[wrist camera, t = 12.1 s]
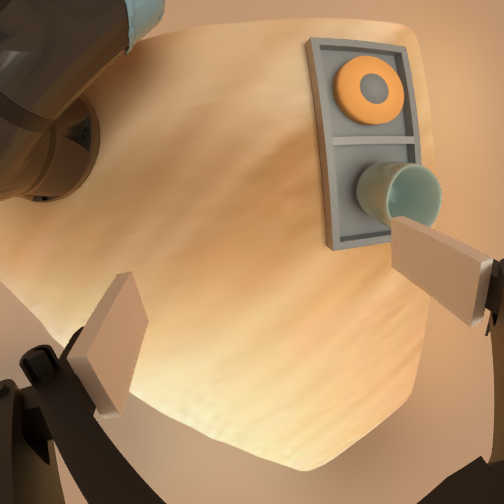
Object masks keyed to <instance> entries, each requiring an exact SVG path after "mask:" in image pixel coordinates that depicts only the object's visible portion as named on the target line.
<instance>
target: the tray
mask: <svg viewBox="0 0 504 504" xmlns="http://www.w3.org/2000/svg"><path fill="white" fill-rule="evenodd" d="M305 47H306V53H307V59H308V66H309V72H310V79H311V86H312V93H313V100H314V107H315V115H316V124H317V132H318V141H319V151H320V161H321V171H322V183H323V195H324V209H325V225H326V243H327V246H328V247H329V248H330V249H331V250H332V251H336V250H343V249H349V248H356V247H362V246H368V245H375V244H381V243H387V242H391V228H389V227H387V226H385V225H383V224H381V223H379V222H377V221H376V220H374V219H373V218H371V217H370V216H369V215H367V214H366V213H365V212H364V211H363V209H362V208H361V207H360V205H359V203H358V201H357V198H356V186H357V182H358V180H359V177H360V176H361V174H362V173H363V171H364V170H365V169H366V168H368V167H369V166H371V165H373V164H375V163H378V162H384V161H398V162H409V163H416V164H419V165H422V164H421V149H420V137H419V126H418V117H417V109H416V101H415V94H414V88H413V82H412V76H411V70H410V65H409V60H408V55H407V50H406V47H402V46H396V45H389V44H382V43H375V42H367V41H357V40H346V39H332V38H310V39H309V40H308V41H307V42H306V43H305ZM359 56H373V57H376V58H379V59H381V60H383V61H384V62H386V63H387V64H388V65H390V66H391V67H392V68H393V69H394V71H395V72H396V73H397V75H398V76H399V78H400V80H401V83H402V86H403V90H404V103H403V107H402V109H401V111H400V113H399V114H398V115H397V117H395V118H394V119H393V120H391V121H389V122H386V123H382V124H375V125H361V124H358V123H356V122H353V121H352V120H350V119H349V118H347V117H346V116H345V115H344V114H343V113H342V112H341V111H340V109H339V108H338V106H337V104H336V102H335V100H334V97H333V92H332V82H333V78H334V76H335V73H336V72H337V70H338V69H339V68H340V67H342V66H343V65H344V64H346V63H347V62H349V61H350V60H352V59H354V58H356V57H359Z"/></svg>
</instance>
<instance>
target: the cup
mask: <svg viewBox="0 0 504 504" xmlns="http://www.w3.org/2000/svg"><path fill="white" fill-rule="evenodd" d="M356 198H357V201H358V203H359V205H360V207H361V208H362V209H363V211H364V212H365V213H366V214H367V215H369V216H370V217H371V218H373V219H374V220H376V221H377V222H379V223H381V224H383V225H385V226H387V227H389V228H391V218H394V217H399V216H404V217H407V218H409V219H411V220H414V221H416V222H418V223H421V224H423V225H425V226H427V227H431V226H432V224H433V223H434V222H435V220H436V218H437V216H438V213H439V211H440V207H441V201H442V193H441V187H440V184H439V182H438V180H437V178H436V177H435V175H434V174H433V173H432V172H431V171H430V170H429V169H427V168H426V167H424V166H422V165H419V164H416V163H409V162H398V161H384V162H378V163H375V164H373V165H371V166H369V167H368V168H366V169H365V170H364V171H363V173H362V174H361V176H360V177H359V180H358V182H357V186H356Z"/></svg>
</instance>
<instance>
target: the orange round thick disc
mask: <svg viewBox="0 0 504 504" xmlns="http://www.w3.org/2000/svg"><path fill="white" fill-rule="evenodd" d="M332 92H333V97H334V100H335V102H336V104H337V106H338V108H339V109H340V111H341V112H342V113H343V114H344V115H345V116H346V117H347V118H349V119H350V120H352V121H353V122H356V123H358V124H361V125H375V124H382V123H386V122H389V121H391V120H393V119H394V118H395V117H397V115H398V114H399V113H400V111H401V109H402V107H403V103H404V90H403V86H402V83H401V80H400V78H399V76H398V75H397V73H396V72H395V71H394V69H393V68H392V67H391V66H390V65H388V64H387V63H386V62H384V61H383V60H381V59H379V58H376V57H373V56H359V57H356V58H354V59H352V60H350V61H349V62H347V63H346V64H344V65H343V66H342V67H340V68H339V69H338V70H337V72H336V73H335V76H334V78H333V82H332Z"/></svg>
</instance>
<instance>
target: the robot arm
mask: <svg viewBox="0 0 504 504" xmlns="http://www.w3.org/2000/svg"><path fill="white" fill-rule="evenodd" d="M164 7H165V0H0V201H2V200H5V199H9V198H12V197H15V196H19V197H22V198H25V199H28V200H31V201H34V202H50V201H54V200H57V199H61V198H63V197H66V196H68V195H69V194H71V193H73V192H74V191H75V190H76V189H78V188H79V187H80V186H81V185H82V183H83V182H84V181H85V180H86V178H87V177H88V175H89V174H90V172H91V170H92V168H93V166H94V164H95V161H96V158H97V154H98V150H99V143H100V129H99V123H98V119H97V116H96V113H95V111H94V109H93V107H92V106H91V104H90V103H89V102H88V100H87V99H86V98H85V97H83V96H82V95H81V94H82V93H83V92H84V91H85V90H86V89H87V88H88V87H89V86H90V85H91V84H92V83H93V82H94V81H95V80H96V79H97V78H98V77H99V76H100V75H101V74H102V73H104V72H105V71H106V70H107V69H108V68H109V67H110V66H111V65H112V64H113V63H115V62H116V61H117V60H118V59H119V58H120V57H121V56H123V55H124V54H128V53H129V52H130V51H131V50H132V48H133V46H134V44H136V43H137V42H138V41H139V40H140V39H141V38H142V37H144V36H145V35H146V34H147V33H148V32H149V31H151V30H152V29H153V28H154V27H155V26H157V24H158V23H159V22H160V20H161V19H162V16H163V13H164ZM391 245H392V268H394V269H395V270H397V271H398V272H399V273H401V274H402V275H403V276H405V277H406V278H407V279H409V280H410V281H411V282H413V283H414V284H415V285H417V286H418V287H419V288H421V289H422V290H423V291H425V292H426V293H427V294H429V295H430V296H431V297H433V298H434V299H435V300H436V301H438V302H439V303H440V304H442V305H443V306H444V307H445V308H447V309H448V310H449V311H451V312H452V313H453V314H454V315H456V316H457V317H458V318H459V319H461V320H462V321H463V322H464V323H465V324H467V325H468V326H469V327H472V326H474V325H476V324H478V323H480V322H482V320H483V315H484V311H485V308H487V309H488V310H490V311H491V313H490V318H489V322H488V326H487V330H486V334H485V336H488V333H489V332H490V333H491V340H492V341H491V342H492V353H493V367H494V400H495V401H494V405H495V406H494V434H493V448H492V454H491V457H490V460H489V462H488V463H486V462H485V461H484V459H483V458H482V457H481V456H480V457H478V458H477V459H476V460H474V461H473V462H471V463H469V464H468V465H466V466H465V467H463V468H462V469H460V470H458V471H457V472H455V473H454V474H452V475H450V476H448V477H447V478H446V479H445V480H444V481H443V482H441V483H440V484H439V485H438V486H437V487H436V488H435V489H434V490H432V491H431V492H430V493H429V494H428V495H427V496H425V497H424V498H423V499H422V500H421V501H419V502H418V503H417V504H504V259H502V260H500V262H498V261H496V260H495V259H493V257H491V256H489V255H487V254H485V253H482V252H481V251H479V250H477V249H475V248H473V247H471V246H469V245H466V244H464V243H462V242H460V241H458V240H456V239H454V238H452V237H450V236H447V235H445V234H443V233H441V232H438V231H436V230H434V229H432V228H430V227H427V226H425V225H423V224H421V223H418V222H416V221H414V220H411V219H409V218H407V217H404V216H399V217H394V218H391ZM147 324H148V318H147V315H146V313H145V310H144V307H143V304H142V301H141V299H140V296H139V293H138V290H137V287H136V284H135V281H134V278H133V275H132V272H127V273H122V274H117V276H116V277H115V279H114V280H113V282H112V283H111V285H110V286H109V288H108V289H107V291H106V293H105V294H104V296H103V297H102V299H101V300H100V302H99V304H98V305H97V307H96V308H95V310H94V312H93V313H92V315H91V317H90V318H89V320H88V322H87V323H86V325H85V326H84V327H81V328H80V329H79V330H78V331H76V332H75V333H74V334H73V336H72V337H71V339H70V341H69V343H68V344H67V346H66V347H65V349H64V351H63V353H62V354H61V356H60V358H59V359H58V358H57V357H56V354H55V353H54V351H53V349H52V347H51V346H50V345H39V346H37V347H34V348H32V349H30V350H29V351H27V352H26V353H25V354H24V355H23V356H22V358H21V359H20V367H21V368H22V370H23V372H24V373H25V375H26V377H27V378H28V380H29V381H30V383H31V385H32V386H29V387H26V388H23V389H19V388H18V387H17V385H16V384H15V382H14V381H13V380H11V379H6V380H2V381H0V504H65V500H64V496H63V491H62V487H61V482H60V478H59V472H58V466H57V461H56V455H55V448H54V441H55V443H56V445H57V448H58V450H59V452H60V454H61V456H62V458H63V460H64V462H65V464H66V465H67V467H68V469H69V471H70V473H71V475H72V477H73V478H74V480H75V482H76V484H77V485H78V487H79V489H80V491H81V492H82V494H83V496H84V497H85V499H86V500H87V502H88V504H166V503H165V502H164V501H163V500H162V499H161V498H160V497H159V496H158V495H157V494H156V493H155V492H154V491H153V490H152V489H151V488H150V486H149V485H148V484H147V483H146V482H145V481H144V480H143V479H142V478H141V477H140V475H139V474H138V473H137V472H136V471H135V470H134V468H133V467H132V466H131V465H130V464H129V463H128V461H127V460H126V459H125V458H124V457H123V455H122V454H121V453H120V452H119V450H118V449H117V448H116V446H115V445H114V444H113V443H112V441H111V440H110V439H109V437H108V436H107V435H106V433H105V432H104V431H103V429H102V428H101V426H100V425H99V424H98V422H97V421H96V419H95V418H94V417H93V414H94V412H95V409H97V410H98V412H99V413H100V415H101V416H102V417H103V419H112V418H122V417H123V413H124V409H125V404H126V400H127V396H128V392H129V388H130V385H131V381H132V377H133V373H134V369H135V366H136V362H137V359H138V355H139V351H140V348H141V344H142V341H143V338H144V334H145V331H146V327H147Z"/></svg>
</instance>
